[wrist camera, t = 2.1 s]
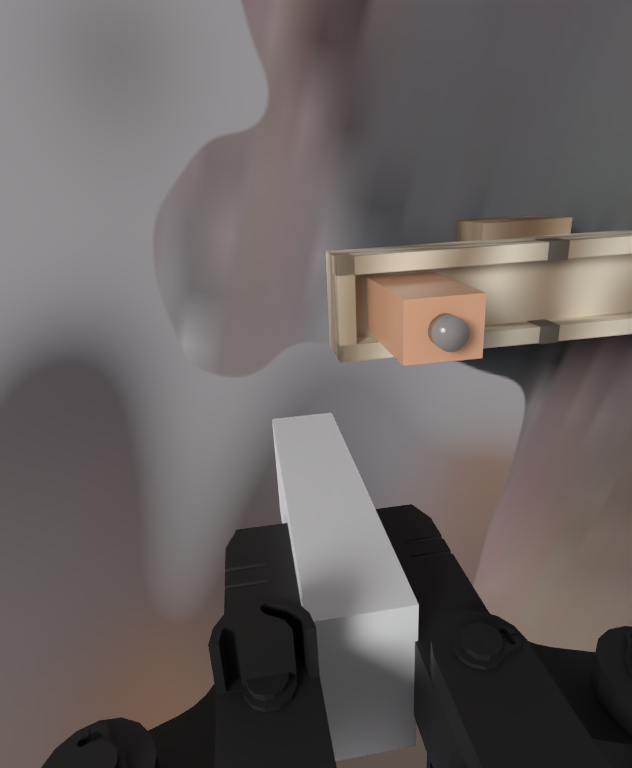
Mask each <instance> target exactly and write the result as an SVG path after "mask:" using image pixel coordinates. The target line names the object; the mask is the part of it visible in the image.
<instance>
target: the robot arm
mask: <svg viewBox="0 0 632 768" xmlns="http://www.w3.org/2000/svg"><path fill="white" fill-rule="evenodd" d="M272 424H273V434H274V445H275V456H276V467H277V479H278V488H279V500H280V511H281V517H282V524H276V525H269V526H262V527H254V528H246V529H239V530H236V532H235V534H234V535H233V537H232V539H231V540H230V542H229V544H228V545H227V547H226V559H225V569H226V572H225V604H224V615H223V616H222V618H221V619H220V620H219V621H218V623H217V624H216V625H215V626H214V628H213V630H212V634H211V637H210V641H209V645H208V646H209V652H210V658H211V664H212V670H213V676H214V682H215V684H214V685H213V686H212V688H211V689H210V691H209V692H208V693H207V695H206V696H205V697H203V698H202V699H201V700H200V701H199V702H198V703H197V704H196V705H195V706H194V707H192V708H190V709H189V710H187V711H185V712H184V713H182V714H181V715H179V716H177V717H175V718H173V719H171V720H169V721H167V722H165V723H163V724H161V725H159V726H157V727H155V728H153V729H151V730H149V731H147V730H146V729H145V728H144V727H143V726H142V725H141V724H140V723H139V722H135V721H132V720H128V719H124V718H115V719H108V720H101V721H98V722H96V723H93V724H91V725H89V726H87V727H85V728H83V729H80V730H78V731H77V732H75V733H74V734H73V735H72V736H70V737H69V738H68V739H67V740H66V741H64V742H63V743H62V744H61V745H59V746H58V747H57V748H56V749H55V750H54V751H53V753H52V754H51V756H50V757H49V758H48V759H47V761H46V762H45V763H44V765H43V766H42V768H336V762H335V761H339V760H344V759H349V758H354V757H359V756H364V755H369V754H375V753H380V752H385V751H390V750H395V749H400V748H405V747H410V746H415V745H416V723H417V725H418V728H419V731H420V734H421V737H422V740H423V743H424V746H425V748H426V751H427V768H632V627H629V626H623V627H619V628H614V629H609V630H608V631H607V632H605V633H604V634H603V635H602V636H601V637H600V638H599V639H598V643H597V648H596V652H587V651H579V650H570V649H561V648H553V647H547V646H543V645H538V644H534V643H532V642H529V641H527V639H526V638H525V637H524V636H523V635H522V634H521V633H520V632H519V631H518V630H517V629H516V627H515V626H513V625H512V624H510V623H508V622H506V621H505V620H503V619H501V618H500V617H498V616H495V615H492V614H490V613H489V612H488V610H487V609H486V607H485V605H484V604H483V602H482V601H481V599H480V597H479V596H478V594H477V592H476V591H475V589H474V588H473V586H472V584H471V583H470V581H469V579H468V578H467V576H466V575H465V573H464V571H463V570H462V568H461V566H460V565H459V563H458V562H457V560H456V558H455V557H454V555H453V554H451V552H450V549H449V547H448V545H447V544H446V542H445V540H444V539H442V537H441V534H440V532H439V531H438V529H437V527H436V526H435V524H434V523H433V521H432V519H431V518H430V517H429V516H427V515H426V514H424V513H423V512H422V511H420V510H419V509H417V508H416V507H414V506H413V505H412V504H411V505H403V506H396V507H388V508H381V509H375V507H374V505H373V503H372V501H371V499H370V496H369V494H368V492H367V490H366V488H365V485H364V483H363V481H362V479H361V477H360V474H359V472H358V470H357V468H356V466H355V463H354V461H353V459H352V457H351V455H350V452H349V450H348V448H347V446H346V444H345V442H344V439H343V437H342V435H341V433H340V431H339V428H338V426H337V424H336V422H335V420H334V417H333V415H332V413H325V414H315V415H306V416H297V417H288V418H279V419H272Z"/></svg>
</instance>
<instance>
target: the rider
mask: <svg viewBox="0 0 632 768" xmlns="http://www.w3.org/2000/svg"><path fill="white" fill-rule="evenodd" d="M486 296H487V293H486V292H483V291H481V290H478V289H476V288H473V287H471V286H468V285H465V284H463V283H460V282H458V281H455V280H452V279H450V278H447V277H445V276H442V275H439V274H437V273H434V272H424V273H412V274H399V275H386V276H373V277H367V322H368V331H369V332H370V333H371V334H372V335H373V336H374V337H375V338H376V339H377V340H378V341H379V342H380V343H381V344H382V345H383V346H384V347H385V348H386V349H387V350H388V351H389V352H390V353H391V354H392V355H393V356H394V357H395V358H396V359H397V360H398V361H399V363H401V365H402V366H410V365H419V364H429V363H439V362H449V361H459V360H469V359H479V358H482V357H483V342H484V326H485V311H486Z"/></svg>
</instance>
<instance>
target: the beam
mask: <svg viewBox="0 0 632 768" xmlns="http://www.w3.org/2000/svg"><path fill="white" fill-rule="evenodd" d="M571 225H572V217H558V216H542V215H533V216H518V217H503V218H488V219H472V220H457V237H456V242H447V243H433V244H419V245H405V246H391V247H377V248H363V249H348V250H334V251H326V267H327V289H328V311H329V334H330V347H331V348H332V350H333V352H334V353H335V354H336V356H337V358H338V359H339V361H340V362H350V361H361V360H370V359H380V358H391V357H394V356H393V355H392V354H391V353H390V352H389V351H388V350H387V349H386V348H385V347H384V346H383V345H382V344H381V343H380V342H379V341H378V340H377V339H376V338H375V337H374V336H373V335H372V334H371V333H370V332H369V331H368V322H367V277H373V276H386V275H399V274H412V273H424V272H434V273H437V274H439V275H442V276H445V277H447V278H450V279H452V280H455V281H458V282H460V283H463V284H465V285H468V286H471V287H473V288H476V289H478V290H481V291H483V292H486V293H487V296H486V311H485V326H484V342H483V348H493V347H504V346H514V345H524V344H534V343H538V344H547V343H558V341H565V340H575V339H585V338H595V337H606V336H616V335H626V334H632V229H630V230H616V231H602V232H588V233H574V234H570V233H571Z"/></svg>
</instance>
